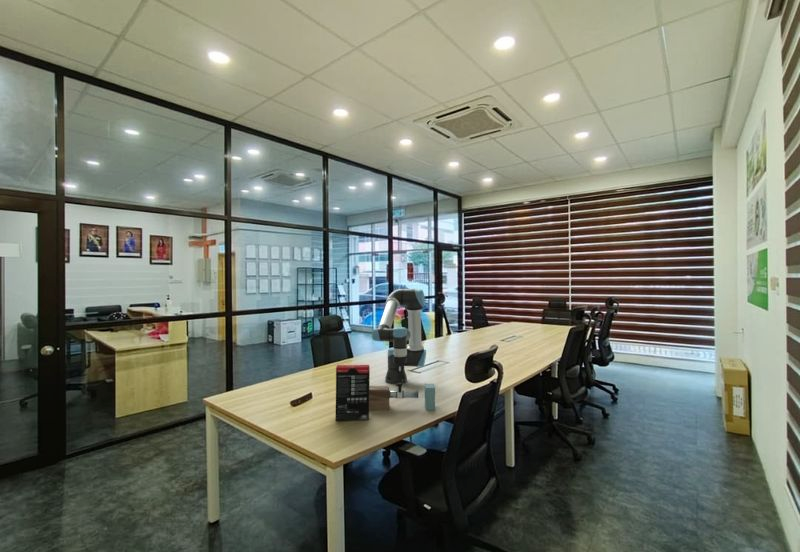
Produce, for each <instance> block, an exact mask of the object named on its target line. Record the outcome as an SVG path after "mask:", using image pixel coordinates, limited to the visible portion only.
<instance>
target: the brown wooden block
mask: <svg viewBox="0 0 800 552" xmlns="http://www.w3.org/2000/svg"><path fill="white" fill-rule="evenodd" d="M389 391H390V385H369V411H373V410H374V411H375V410H376V411H380V410H381V411H382V410H383V411H389V410H390V398H389Z"/></svg>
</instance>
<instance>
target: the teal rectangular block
mask: <svg viewBox="0 0 800 552" xmlns="http://www.w3.org/2000/svg"><path fill="white" fill-rule="evenodd" d="M424 408H425V411H435V410H436V387H435V384H434V383H424Z"/></svg>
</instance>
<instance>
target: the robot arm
mask: <svg viewBox="0 0 800 552" xmlns="http://www.w3.org/2000/svg"><path fill="white" fill-rule="evenodd" d="M425 298H426V296H425V293H424V290H423V289H421V288H398V289H396V290H394V291H392V292H391V293H390V294H389V295H388V296H387V298H386V299H385V300H386V301H385V308H384V311H383V313H382V316H381V317H380V321H379V323H378V324H379V325H378V327H375V328H373V329H372V332H371V338H372V341H375V342H392V343H393V344H392V346H393V347H390V348H388V351H387V371H386V375H385V378H384V380H385V382H386V383H388V384H395V386H396V388H397V389H396V390H397V398H396V399H403V398H402V390H403V384H404V383H407V381H408V376H407V374H406V373H407V372H406V370H405V367H411V368H412V367H415V368H416V367H417V368H420V367H421V368H422V367H424V366H425V365H426V364H425V363H426V358H427V349H425V347H424V345H423V344H422V317H421V316H422V315H421V314H422V313H421V311H422V310H423V308H424V307H425V306H426V299H425ZM400 307H405V310H406V311H407V317H408V318H407V320H408V321H407V322H408V323H407V324H408V326H407V327H408V328H406V327H403V326H401V327H400V326H397V327H396V326H395V327H394V328H392V325H393V324H394V320H395V317H396V314H397V310H398V309H399V308H400ZM407 343H408V345H407Z"/></svg>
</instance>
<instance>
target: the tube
mask: <svg viewBox="0 0 800 552" xmlns="http://www.w3.org/2000/svg"><path fill="white" fill-rule="evenodd" d="M389 399H398V398H397V389H396V390H389ZM401 399H419V390H403V389H402V398H401Z"/></svg>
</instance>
